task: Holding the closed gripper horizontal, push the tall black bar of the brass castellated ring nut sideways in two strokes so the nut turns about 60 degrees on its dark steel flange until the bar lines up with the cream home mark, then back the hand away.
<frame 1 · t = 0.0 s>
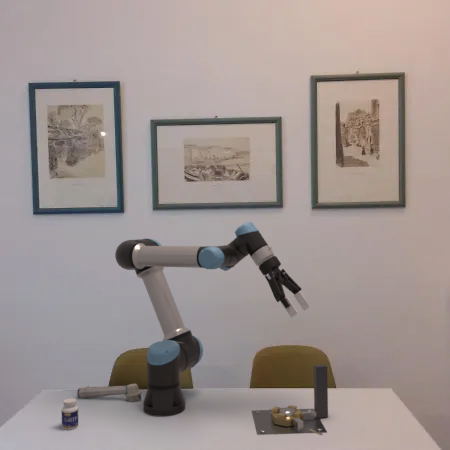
hand: (301, 311, 171), 36 cm above the table, tool tilted 35°, fingers open, 13 cm apart
flange: (287, 423, 165), on the table
grey elongated piece: (109, 400, 192), on the table
pill bottle: (70, 427, 166), on the table
ring nut: (299, 393, 166), point 10 cm above the table, hinge at 0.0°
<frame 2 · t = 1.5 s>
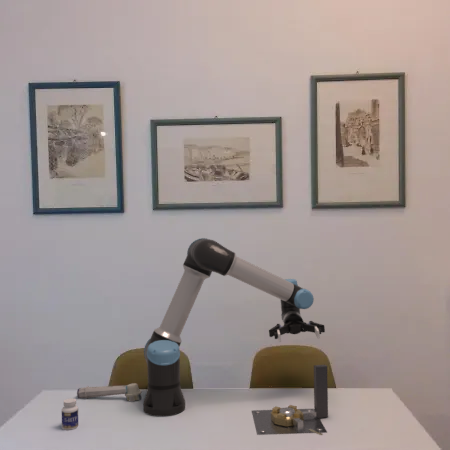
hand: (299, 336, 175), 27 cm above the table, tool horizontal, fingers open, 13 cm apart
nothing on the table moved.
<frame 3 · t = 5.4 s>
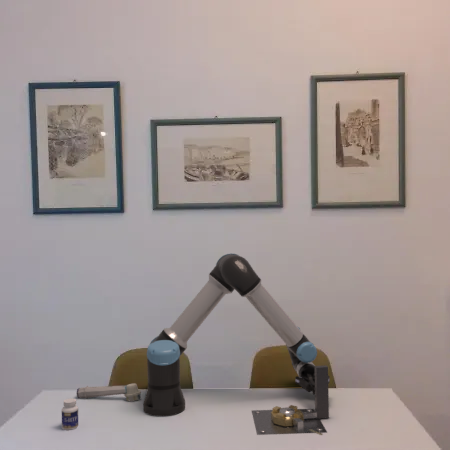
hand: (323, 396, 169), 8 cm above the table, tool horizontal, fingers closed
ring nut: (299, 393, 166), point 10 cm above the table, hinge at 3.8°, touching gripper
everything else where it was.
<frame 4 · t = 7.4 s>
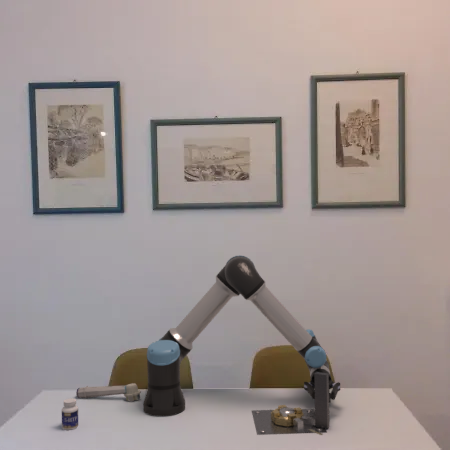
hand: (325, 404, 161), 8 cm above the table, tool horizontal, fingers closed
ring nut: (299, 396, 163), point 10 cm above the table, hinge at 41.2°, touching gripper
everything else where it was.
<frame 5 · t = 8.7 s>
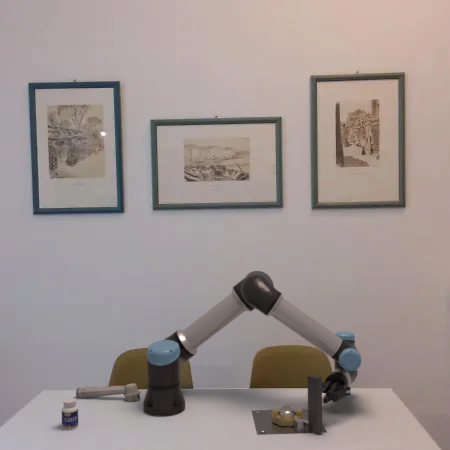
hand: (317, 403, 157), 9 cm above the table, tool horizontal, fingers closed
ring nut: (297, 397, 162), point 10 cm above the table, hinge at 62.3°, touching gripper
everything else where it was.
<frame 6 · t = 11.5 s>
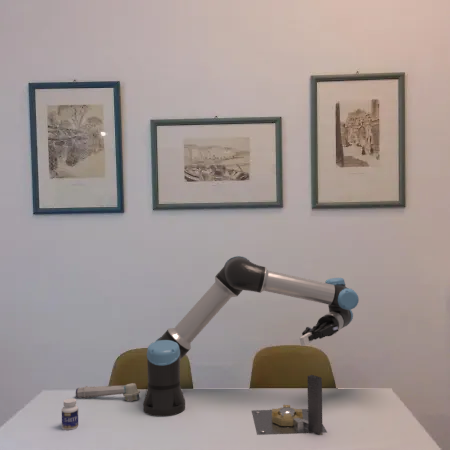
hand: (302, 341, 170), 26 cm above the table, tool horizontal, fingers closed
ring nut: (297, 397, 162), point 10 cm above the table, hinge at 62.3°
everything else where it was.
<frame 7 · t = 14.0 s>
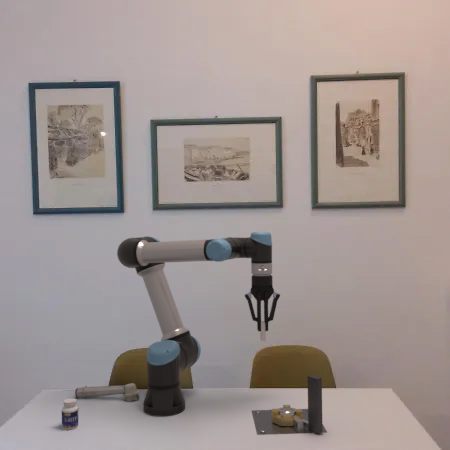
hand: (263, 340, 180), 24 cm above the table, tool pointing down, fingers closed
nothing on the table moved.
at the end: ring nut at +62° (first picture: +0°); the gripper is holding nothing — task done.
